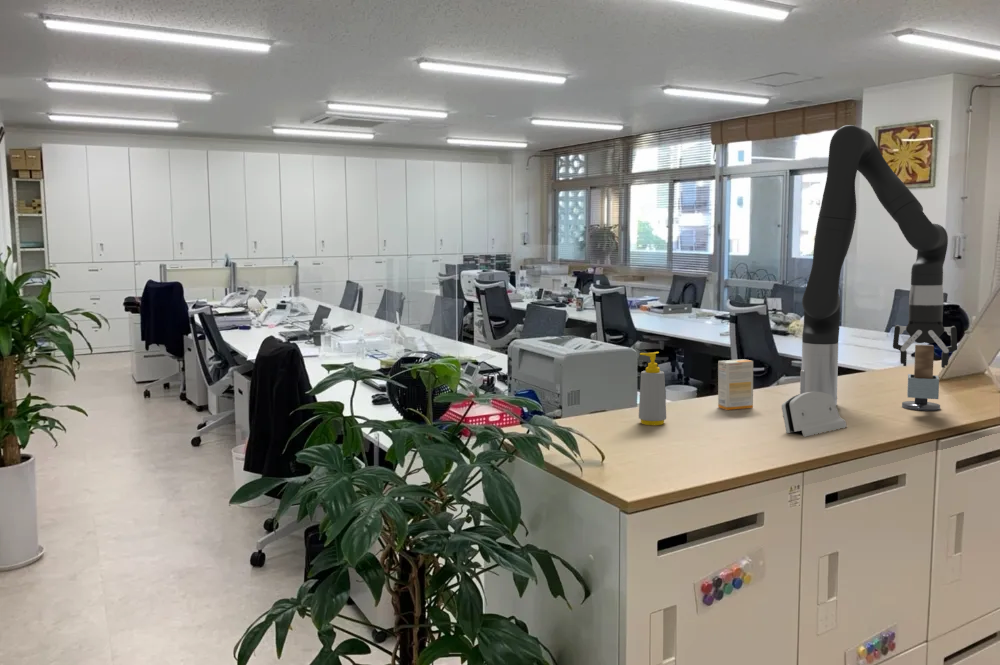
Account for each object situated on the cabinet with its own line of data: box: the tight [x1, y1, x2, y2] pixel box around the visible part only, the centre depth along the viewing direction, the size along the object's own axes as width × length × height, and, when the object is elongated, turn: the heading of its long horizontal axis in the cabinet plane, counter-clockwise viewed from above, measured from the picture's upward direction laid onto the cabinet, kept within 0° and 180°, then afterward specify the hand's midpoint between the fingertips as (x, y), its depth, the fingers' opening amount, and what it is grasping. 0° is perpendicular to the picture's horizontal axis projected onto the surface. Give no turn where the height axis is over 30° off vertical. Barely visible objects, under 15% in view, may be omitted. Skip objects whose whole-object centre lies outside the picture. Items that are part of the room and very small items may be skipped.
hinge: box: [781, 392, 848, 438], centre depth 182 cm, size 17×5×10 cm, turn 123°
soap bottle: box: [638, 351, 667, 426], centre depth 190 cm, size 7×7×18 cm
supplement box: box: [717, 358, 754, 411], centre depth 208 cm, size 8×5×13 cm, turn 105°
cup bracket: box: [901, 373, 941, 412], centre depth 200 cm, size 9×19×14 cm, turn 152°
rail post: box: [913, 343, 935, 379], centre depth 194 cm, size 4×4×12 cm
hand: (923, 366), depth 194 cm, fingers open, 8 cm apart
